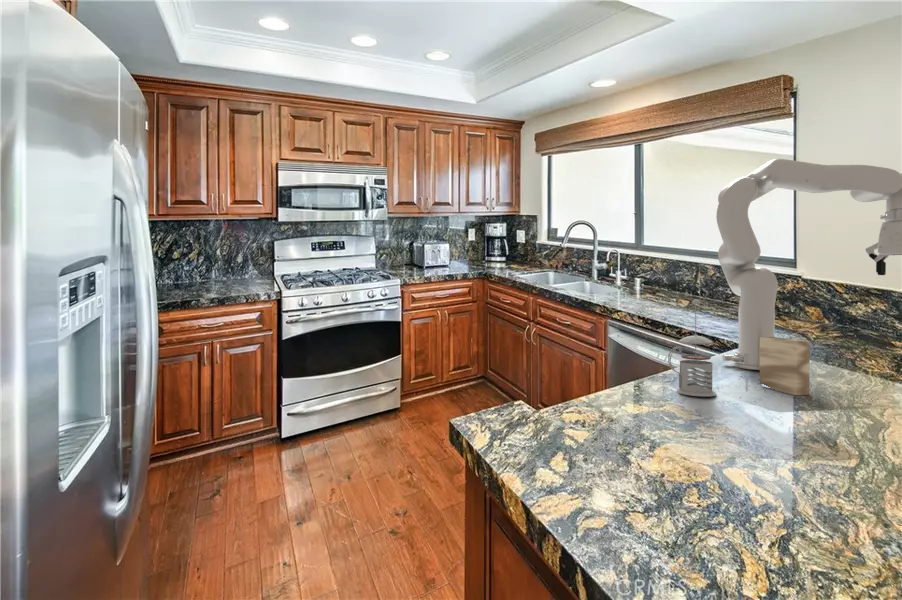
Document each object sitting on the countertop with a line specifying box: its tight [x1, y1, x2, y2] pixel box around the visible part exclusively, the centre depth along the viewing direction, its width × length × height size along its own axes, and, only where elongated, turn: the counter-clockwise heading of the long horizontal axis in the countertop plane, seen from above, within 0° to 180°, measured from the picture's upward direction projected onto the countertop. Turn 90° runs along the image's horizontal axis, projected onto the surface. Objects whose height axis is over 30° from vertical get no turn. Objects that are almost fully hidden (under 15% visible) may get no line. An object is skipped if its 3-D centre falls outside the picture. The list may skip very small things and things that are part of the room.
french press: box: [667, 298, 718, 397], centre depth 123 cm, size 10×12×25 cm
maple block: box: [759, 336, 811, 396], centre depth 125 cm, size 4×12×14 cm, turn 6°
